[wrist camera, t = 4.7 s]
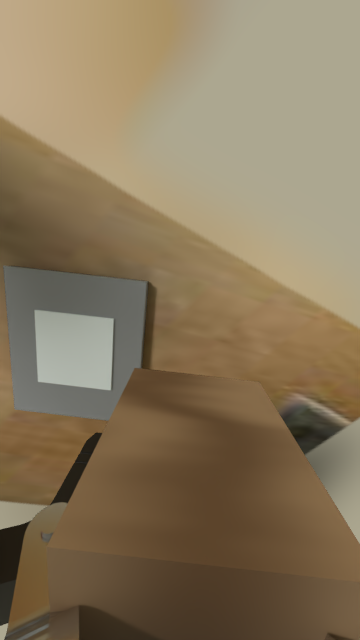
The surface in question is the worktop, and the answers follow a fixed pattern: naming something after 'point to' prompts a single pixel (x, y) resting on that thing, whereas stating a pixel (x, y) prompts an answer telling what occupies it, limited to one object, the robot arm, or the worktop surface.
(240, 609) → the tan wooden block
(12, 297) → the grey flat plate
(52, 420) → the worktop surface
